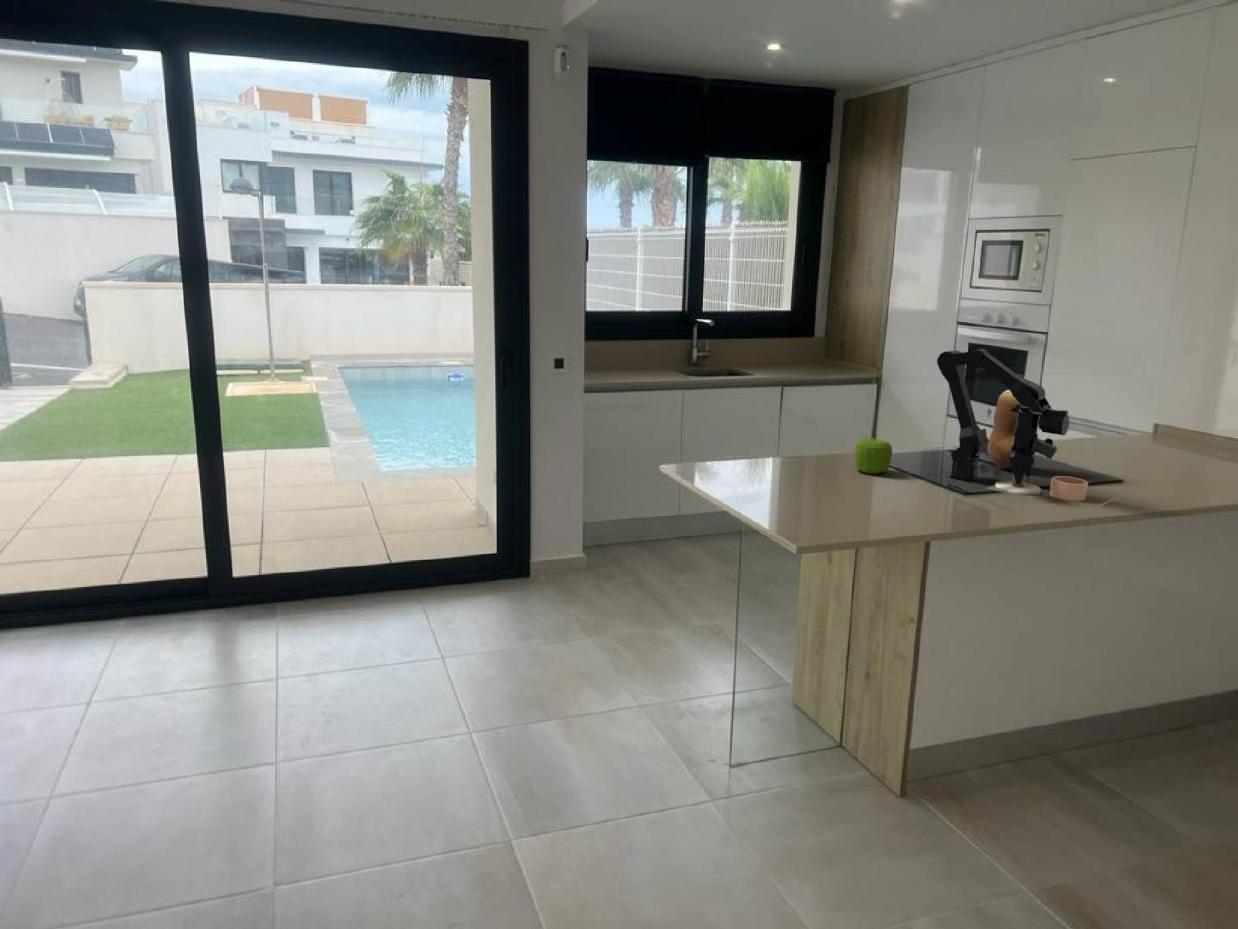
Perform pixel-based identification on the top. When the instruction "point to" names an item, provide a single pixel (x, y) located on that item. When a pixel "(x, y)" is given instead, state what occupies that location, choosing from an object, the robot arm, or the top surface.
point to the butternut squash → (1003, 431)
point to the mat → (1017, 494)
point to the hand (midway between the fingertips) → (1018, 482)
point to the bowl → (1068, 488)
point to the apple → (872, 455)
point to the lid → (1017, 487)
